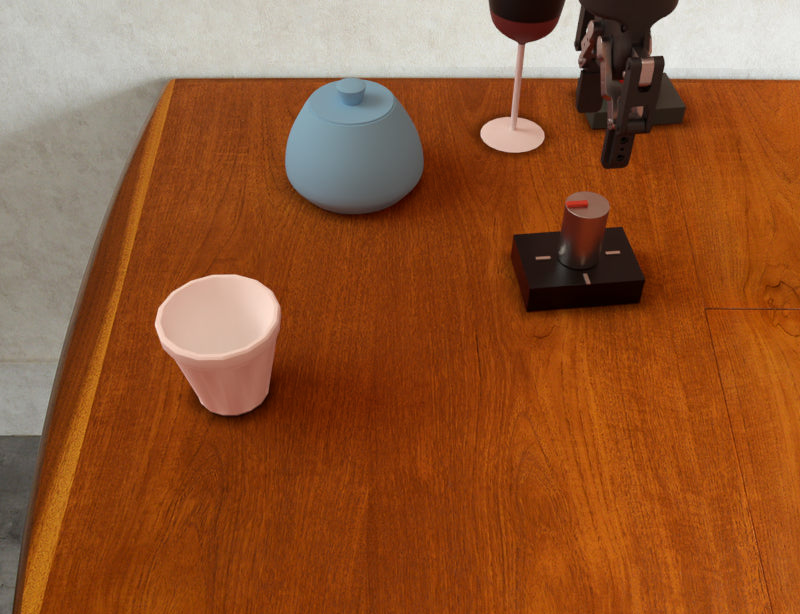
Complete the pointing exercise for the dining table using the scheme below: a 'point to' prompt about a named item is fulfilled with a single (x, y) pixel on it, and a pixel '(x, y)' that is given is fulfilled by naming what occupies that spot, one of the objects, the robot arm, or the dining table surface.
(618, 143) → the robot arm
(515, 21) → the wineglass
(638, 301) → the panel
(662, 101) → the switch block
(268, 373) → the cup
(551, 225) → the dining table surface
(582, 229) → the knob
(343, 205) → the sugar bowl
